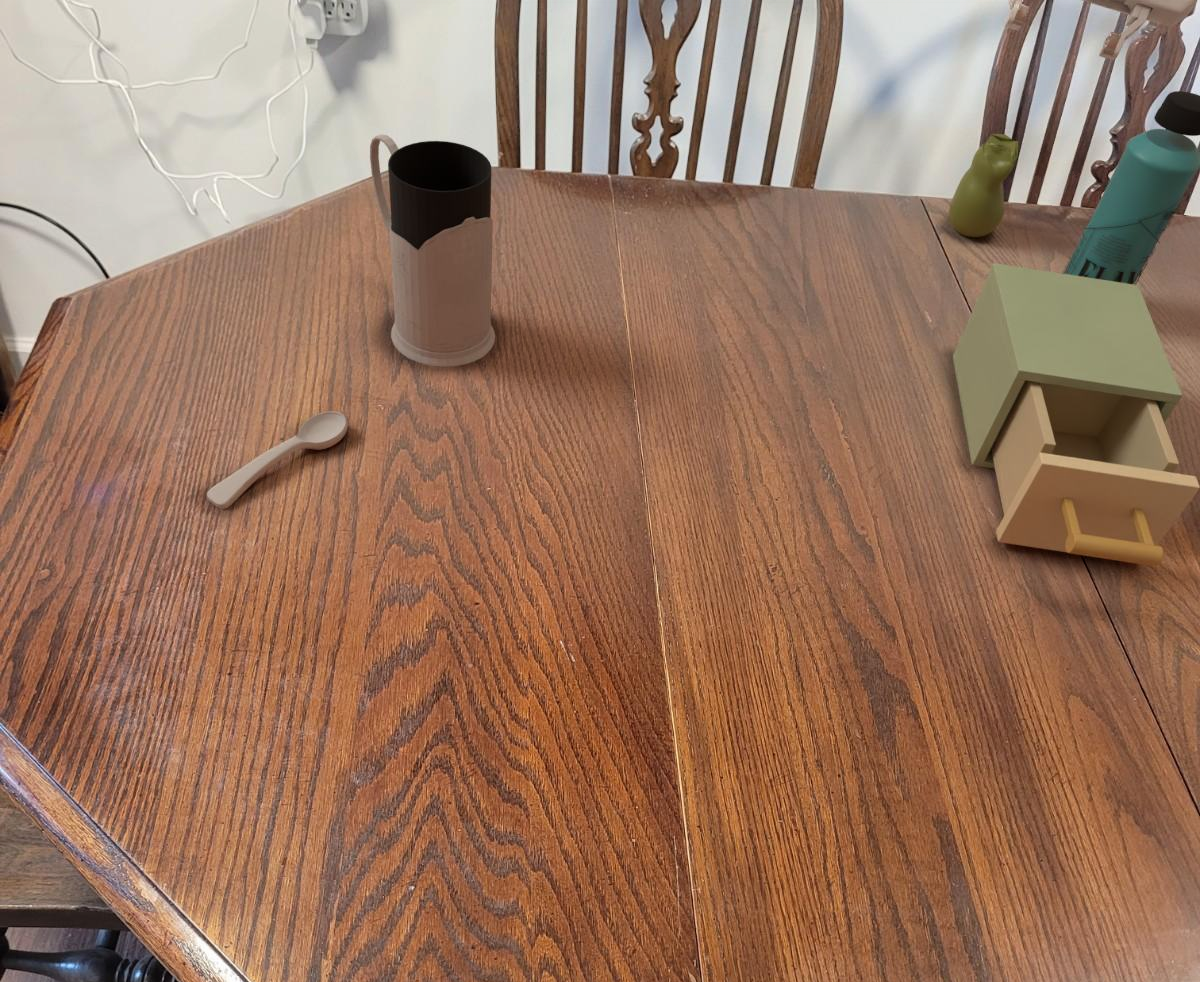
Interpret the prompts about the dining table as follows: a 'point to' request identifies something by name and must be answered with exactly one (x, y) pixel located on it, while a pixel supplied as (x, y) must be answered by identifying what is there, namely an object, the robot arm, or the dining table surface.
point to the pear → (983, 188)
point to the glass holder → (438, 249)
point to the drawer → (1088, 474)
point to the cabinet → (1055, 346)
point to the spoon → (280, 455)
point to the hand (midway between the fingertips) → (1060, 41)
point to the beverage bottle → (1141, 195)
